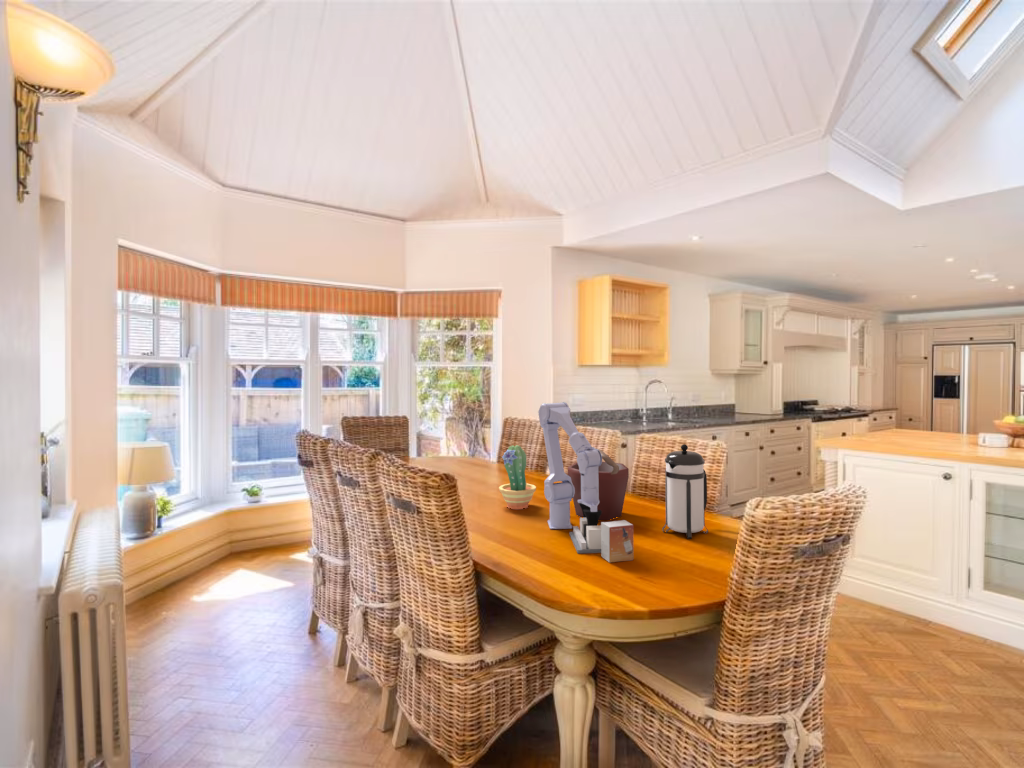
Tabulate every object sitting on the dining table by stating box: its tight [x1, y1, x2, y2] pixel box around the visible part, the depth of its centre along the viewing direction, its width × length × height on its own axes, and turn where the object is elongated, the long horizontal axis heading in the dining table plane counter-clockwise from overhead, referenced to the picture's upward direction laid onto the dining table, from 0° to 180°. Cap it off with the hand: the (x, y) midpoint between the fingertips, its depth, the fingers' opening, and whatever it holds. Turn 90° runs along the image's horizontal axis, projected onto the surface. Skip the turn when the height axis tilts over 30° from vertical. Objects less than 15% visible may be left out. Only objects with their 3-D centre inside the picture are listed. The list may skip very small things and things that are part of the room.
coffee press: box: [661, 443, 709, 540], centre depth 179 cm, size 17×16×30 cm
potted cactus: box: [498, 444, 537, 510], centre depth 215 cm, size 15×15×25 cm
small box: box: [600, 519, 634, 563], centre depth 155 cm, size 8×6×10 cm
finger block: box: [579, 517, 588, 539], centre depth 172 cm, size 4×5×6 cm
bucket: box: [567, 448, 630, 521], centre depth 201 cm, size 24×22×25 cm
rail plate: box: [569, 524, 601, 554], centre depth 169 cm, size 18×12×7 cm, turn 2°
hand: (590, 528), depth 172 cm, fingers open, 7 cm apart
